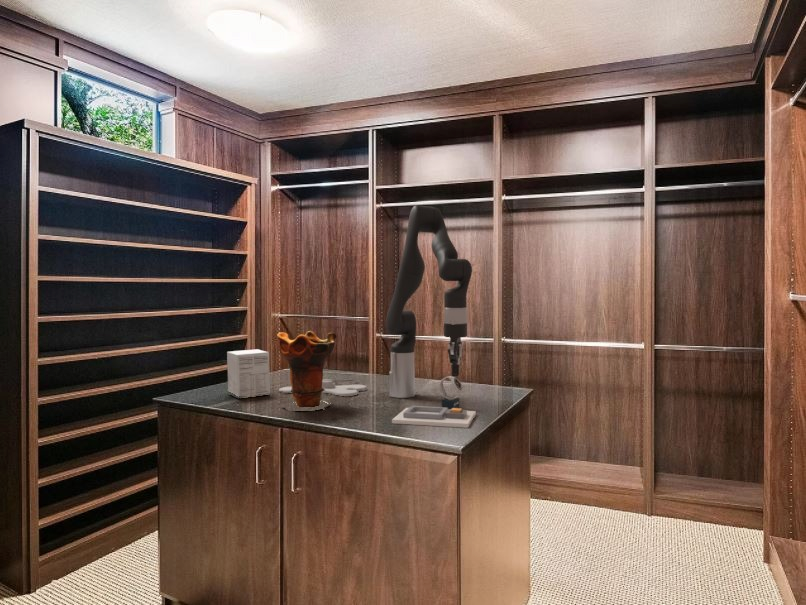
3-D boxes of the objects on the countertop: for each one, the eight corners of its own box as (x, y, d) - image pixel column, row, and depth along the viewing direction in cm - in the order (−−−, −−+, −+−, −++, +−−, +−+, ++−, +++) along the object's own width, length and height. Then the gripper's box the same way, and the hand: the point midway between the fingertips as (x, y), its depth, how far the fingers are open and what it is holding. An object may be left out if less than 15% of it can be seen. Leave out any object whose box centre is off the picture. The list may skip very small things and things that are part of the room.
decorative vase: (348, 399, 211) (345, 325, 208) (319, 417, 189) (315, 335, 187) (300, 396, 218) (296, 325, 215) (266, 413, 196) (261, 334, 194)
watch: (458, 410, 193) (457, 378, 192) (437, 408, 197) (436, 377, 196) (464, 407, 198) (464, 376, 197) (443, 405, 202) (443, 374, 201)
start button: (450, 416, 178) (450, 410, 178) (452, 414, 181) (452, 407, 181) (460, 416, 178) (460, 410, 178) (461, 414, 180) (461, 408, 180)
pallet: (392, 423, 176) (391, 414, 176) (406, 411, 193) (406, 403, 193) (467, 427, 170) (467, 418, 170) (475, 414, 186) (475, 406, 186)
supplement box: (270, 395, 223) (269, 351, 222) (237, 400, 215) (236, 354, 214) (259, 390, 234) (258, 348, 233) (227, 394, 226) (226, 351, 225)
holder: (352, 398, 217) (352, 386, 216) (274, 394, 227) (274, 382, 226) (370, 389, 235) (369, 377, 235) (297, 386, 245) (296, 374, 245)
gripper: (447, 320, 186) (448, 372, 186) (439, 323, 173) (439, 379, 174) (470, 320, 184) (470, 372, 184) (463, 323, 171) (463, 380, 172)
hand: (455, 375), depth 179 cm, fingers closed
